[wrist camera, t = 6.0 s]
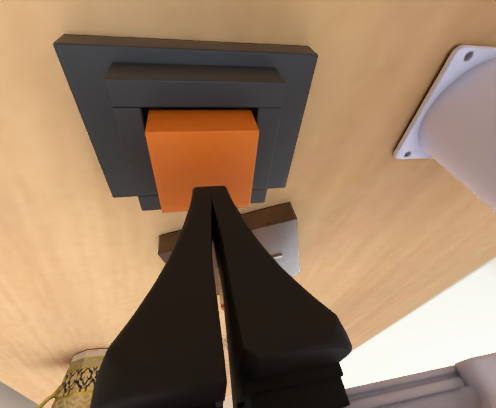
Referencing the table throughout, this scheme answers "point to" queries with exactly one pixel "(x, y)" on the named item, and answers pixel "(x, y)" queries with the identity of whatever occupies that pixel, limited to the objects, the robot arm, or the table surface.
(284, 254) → the dimmer plate
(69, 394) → the ceramic cup
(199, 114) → the switch button
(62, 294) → the table surface
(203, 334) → the robot arm
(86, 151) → the table surface
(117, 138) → the switch plate
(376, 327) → the table surface
